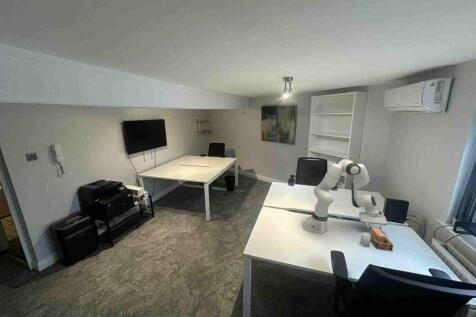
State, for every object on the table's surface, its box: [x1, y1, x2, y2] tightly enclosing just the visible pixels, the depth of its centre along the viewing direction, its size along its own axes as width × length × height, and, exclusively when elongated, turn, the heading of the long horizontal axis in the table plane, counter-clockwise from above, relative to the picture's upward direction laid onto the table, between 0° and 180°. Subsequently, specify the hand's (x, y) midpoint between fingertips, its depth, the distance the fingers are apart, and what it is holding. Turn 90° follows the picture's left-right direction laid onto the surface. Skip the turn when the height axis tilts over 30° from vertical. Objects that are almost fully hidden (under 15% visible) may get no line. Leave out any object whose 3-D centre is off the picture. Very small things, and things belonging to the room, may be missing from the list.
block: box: [369, 226, 386, 243], centre depth 157 cm, size 5×12×8 cm, turn 168°
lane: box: [369, 233, 394, 252], centre depth 151 cm, size 11×12×5 cm
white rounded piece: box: [359, 231, 371, 248], centre depth 152 cm, size 6×6×9 cm
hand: (374, 228), depth 162 cm, fingers open, 8 cm apart
